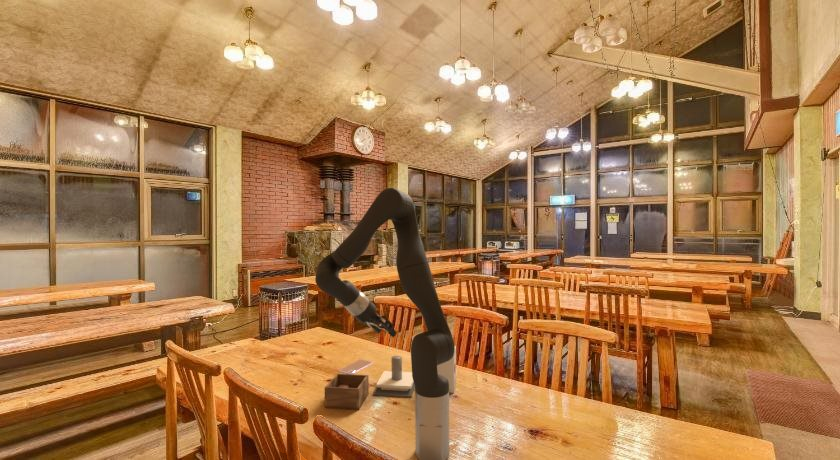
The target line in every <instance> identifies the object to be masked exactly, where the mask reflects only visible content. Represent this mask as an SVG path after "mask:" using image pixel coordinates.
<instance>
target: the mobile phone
mask: <svg viewBox="0 0 840 460" xmlns="http://www.w3.org/2000/svg"><path fill="white" fill-rule="evenodd" d="M372 364H373V362H372V361H369V360H365V359H359V360H357V361H355V362H352V363H350V364H348V365H346V366H345V367H342V368H340V369H339V372H340V373H342V374H355V373H358V372H360V371H363V369H365V368H367V367H369V366H371V365H372Z"/></svg>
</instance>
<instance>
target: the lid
mask: <svg viewBox="0 0 840 460" xmlns="http://www.w3.org/2000/svg"><path fill="white" fill-rule="evenodd" d="M413 382H414V381H413V377H412V371H403V357H402V356H401V355H392V357H391V370H389V371H388V370H384V371H383V373H382V374H381V376H380V377H379V379H378V380H377V383H376V385H375V388H377V387H381V390H397V391H408V389H411V387H412V385H413Z"/></svg>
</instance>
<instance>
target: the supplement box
mask: <svg viewBox="0 0 840 460" xmlns="http://www.w3.org/2000/svg"><path fill="white" fill-rule="evenodd" d="M437 371H438V374H439V375H442V376H444V377H446V378H447V379H448V381H449V394H454V393H455V391H456V390H455V389H456V386H457V346H456V345H455V352H454V356H453V357H452V359H451V360H449V361H447V362H445V363H442V364H440V365H437Z"/></svg>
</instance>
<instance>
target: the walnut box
mask: <svg viewBox="0 0 840 460" xmlns="http://www.w3.org/2000/svg"><path fill="white" fill-rule="evenodd" d="M369 386H370V385H369V375H368V374H355V373H354V374H347V373H336V374H335V375H334V377H332V378H331V379H330V381H329V382H327V384H326V385H325V386H324V408H325V409H337V410H352V411H353V410H355V411H359V410H360V409H361V408H362V406H363V404H364V403H365V401H366V400H367V398H368V396H369V394H370V393H369V392H370V391H369V388H370V387H369Z"/></svg>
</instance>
